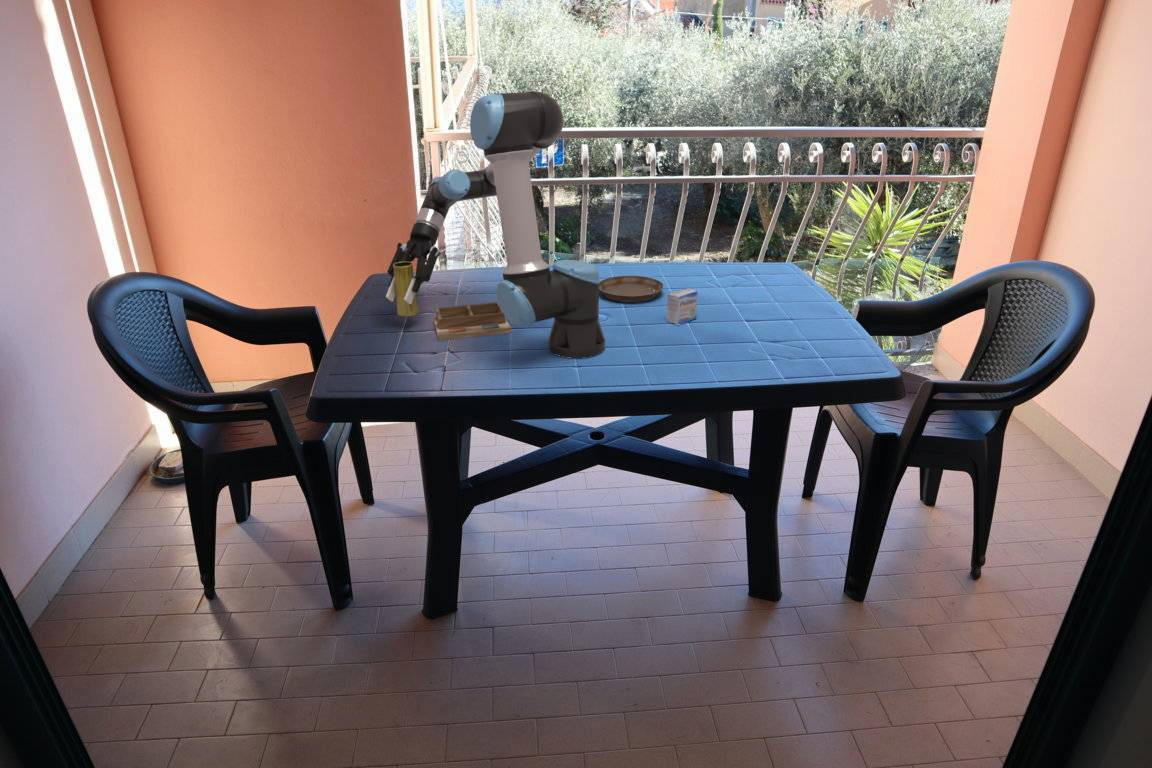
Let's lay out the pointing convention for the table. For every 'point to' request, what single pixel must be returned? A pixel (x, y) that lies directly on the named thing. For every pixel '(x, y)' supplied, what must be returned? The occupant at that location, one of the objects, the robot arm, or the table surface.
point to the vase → (404, 288)
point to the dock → (470, 321)
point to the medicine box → (682, 306)
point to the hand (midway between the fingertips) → (398, 300)
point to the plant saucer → (630, 288)
